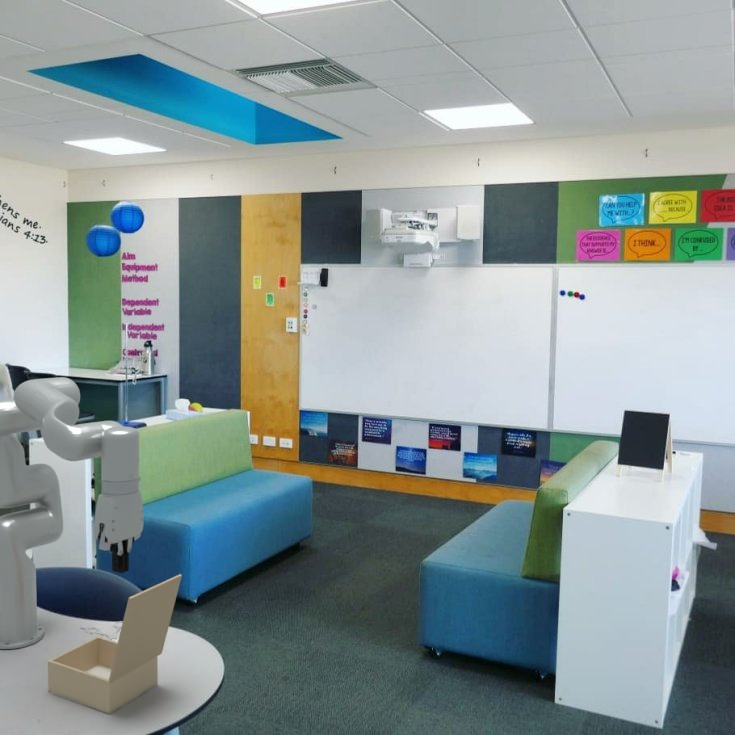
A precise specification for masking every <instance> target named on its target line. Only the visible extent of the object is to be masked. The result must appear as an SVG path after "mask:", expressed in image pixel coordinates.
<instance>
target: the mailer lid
mask: <svg viewBox="0 0 735 735" xmlns="http://www.w3.org/2000/svg"><path fill="white" fill-rule="evenodd" d="M182 576H183V575H182V574H181V573H179V574H178V575H177V574H176V575H175V576H173V577H171V578H168V579H166V580H164V581H162V582H159V583H158V584H155V585H153V586H151V587H149V588H146V589H145V590H142V591H140V592H138V593H135V594H134V595H131V596H129V597H128V599H127V604H126V608H125V612H124V615H123V620H122V621H123V623H121V626H122V628H120V631H119V637H118V639H119V640H118V644H117V648H116V652H115V657H114V661H113V665H112V669H111V673H110V677H109V681H108V682H109V683H111V682H113V681H115V680H117V679H118V678H120V677H122V676H124V675H125V674H127V673H129V672H130V671H132V670H134V669H136V668H137V667H139V666H141V665H143V664H144V663H146V662H148V661H150V660H151V659H153V658H155V657H157V658H158V656H160V655H162V654H163V649H164V646H165V642H166V638H167V635H168V631H169V627H170V623H171V620H172V619H171V618H172V614H173V611H174V608H175V604H176V599H177V595H178V591H179V588H180V584H181V580H182Z"/></svg>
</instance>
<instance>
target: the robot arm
mask: <svg viewBox="0 0 735 735" xmlns="http://www.w3.org/2000/svg"><path fill="white" fill-rule="evenodd" d="M80 392H81V391H80V388H79V387H78V385H77V384H76V382H75V381H73V379H70V378H68V377H65V376H64V377H63V376H60V377H48V378H47V377H45V378H34V379H29V380H26V381H24V382H22V383H20V384H19V385H18V386H17V387H16V388H15V390H14V392H13V397H10V398H9V397H8V398H0V509H10V508H15V507H21V506H25V505H31V504H34V505H35V507H33V508H29V509H26V510H25V509H24V510H19V511H14V512H10V513H6V514H3V515H1V516H0V650H13V649H14V650H15V649H21V648H25V647H28V646H31V645H33V644H35V643H37V642H38V641H40V640H41V639H42V638H43V637H44V635H45V628H44V627H42V626H41V625H40V624H38V610H37V609H38V608H37V607H38V606H37V602H38V601H37V571H36V570H37V569H36V564H35V563H34V560H32V559H31V557H30V556H28V554H27V551H28V550H31V549H33V548H37V547H38V548H39V547H41V546H45V545H49V544H51V543H54V542H57V541H58V540H60V538H61V537H62V535H63V531H64V519H63V518H64V516H63V509H62V508H63V506H62V499H61V491H60V490H61V489H60V481H59V478H58V475H57V474H56V472H55V470H54V468H53V467H52V466H51V465H49V464H46V463H35V464H34V463H33V464H30V465H27V464H26V456H25V455H26V454H25V449H24V446H23V445H22V444H21V442H20V441H19V440H18V439H17V437H15V436H14V435H13V434H17V433H26V432H34V431H41V436H42V440H43V442H44V444H45V446H46V448H47V449H48V450H49V451H50V452H52V453H54V454H55V455H56V456H58V457H59V458H61V459H62V460H65V461H69V462H79V461H85V460H90V459H96V458H101V459H100V460H101V461H100V462H101V466H100V467H101V470H100V472H101V476H100V477H101V480H100V481H101V484H100V485H101V487H100V488H101V494H99V495H97V496H98V497H97V501H96V505H95V513H94V525H93V526H94V528H93V529H94V531H93V537H94V541H97V542H99V544H98V550H101V551H104V552H105V551H108V552H109V553H110V554H111V570H112V571H113V572H116V573H119V574H124V573H126V572H129V569H130V565H129V564H130V562H129V560H130V559H129V558H130V556H129V555H130V554H129V553H130V552H131V551H132V546H133V544H134V542H135V541H137V540H138V539H139V538H141V535H142V534H141V533H142V532H143V529H144V505H143V498H142V494H141V493H142V492H141V489H140V482H141V476H140V433H139V431H138V429H137V428H135V427H132V426H125V425H122V424H121V423H120V422H117V421H114V420H103V421H96V422H95V421H94V422H88V423H87V422H86V423H79V424H76V423H77V421H78V419H79V417H80V407H79V404H80V401H81V393H80Z"/></svg>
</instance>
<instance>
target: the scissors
mask: <svg viewBox="0 0 735 735" xmlns="http://www.w3.org/2000/svg"><path fill="white" fill-rule="evenodd" d="M120 623H121V624H122V623H123V620H122V621H121V620H120V621H116V622H114V623H113V628H114V629H115V628H116V630H115V631H114V632H113V633H110V634H109V633H102V632H100V630H101V629H100V628H99V627H84V626H81V627H80V630H85V633H86V632H87V633H90V634H89V635H94V634H93V633H97V634H96V635H99V634H100V635H99V636H104V635H106V636H105V637H106V638H108V637H109V638H110V639H109V638H108V639H109V640H111V639H115V640H117V639H118V637H117V635H118V634H117V633H119V632H120V630H121V628H122V625H120V626H118V625H117V624H120ZM89 629H90V630H95V629H96V631H90V630H89ZM118 631H119V632H118ZM87 633H86V634H87ZM116 634H117V635H116Z"/></svg>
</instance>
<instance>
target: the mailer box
mask: <svg viewBox="0 0 735 735" xmlns="http://www.w3.org/2000/svg"><path fill="white" fill-rule="evenodd" d="M117 644H118V642H115V641H112V640H111V639H109V638H105V637H102V636H100V635H99V636H96V637H94V638H91V639H90V640H88V641H86V642H83V643H82V644H79V645H78V646H75V647H73V648H72V649H69V650H68V651H66V652H63V653H62V654H59V655H57V656H56V657H53V658H51V659H49V660H47V680H48V681H47V684H48V685H47V686H48V688H47V689H48V693H50V694H53V695H55V696H58V697H60V698H63V699H66V700H69V701H72V702H75V703H77V704H79V705H82V706H85V707H88V708H90V707H91V709H94V710H96V711H98V712H102V713H105V714H107V715H111V714H113V713H115V712H116V711H117V710H119V709H121V708H123V707H124V706H126V705H127V704H129V703H131V702H132V701H134V700H135V699H138V697H141V696H142V695H143V694H145V693H147V692H148V691H150V690H151V689H153V688H155V687H157V686H158V685H159V684H158V677H159V676H158V656H157V657H155V658H153V659H151V660H150V661H148V662H146V663H144V664H143V665H141V666H139V667H137V668H136V669H134V670H132V671H130V672H129V673H127V674H125V675H124V676H122V677H120V678H118V679H117V680H115V681H113V682H111V683H109V682H108V681H109V677H110V673H111V669H112V665H113V661H114V657H115V652H116V648H117Z"/></svg>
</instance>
